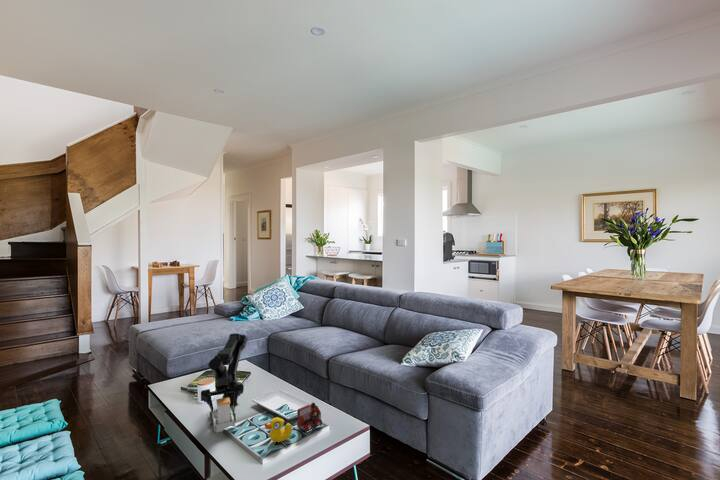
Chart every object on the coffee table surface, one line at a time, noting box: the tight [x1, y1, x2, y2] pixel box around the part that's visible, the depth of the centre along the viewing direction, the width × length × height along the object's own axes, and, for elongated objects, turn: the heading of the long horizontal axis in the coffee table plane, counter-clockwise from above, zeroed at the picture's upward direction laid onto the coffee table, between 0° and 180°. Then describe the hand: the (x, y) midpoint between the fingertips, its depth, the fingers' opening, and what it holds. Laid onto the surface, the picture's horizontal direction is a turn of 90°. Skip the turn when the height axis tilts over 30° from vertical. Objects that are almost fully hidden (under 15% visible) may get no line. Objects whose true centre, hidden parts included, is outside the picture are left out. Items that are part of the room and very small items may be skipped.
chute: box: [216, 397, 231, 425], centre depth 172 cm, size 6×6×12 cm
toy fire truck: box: [296, 402, 323, 433], centre depth 170 cm, size 7×12×10 cm, turn 135°
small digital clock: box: [209, 406, 237, 434], centre depth 176 cm, size 11×17×3 cm, turn 24°
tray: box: [251, 388, 311, 421], centre depth 190 cm, size 17×31×4 cm, turn 47°
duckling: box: [264, 417, 293, 443], centre depth 159 cm, size 11×5×10 cm, turn 115°
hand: (223, 410), depth 171 cm, fingers open, 9 cm apart
